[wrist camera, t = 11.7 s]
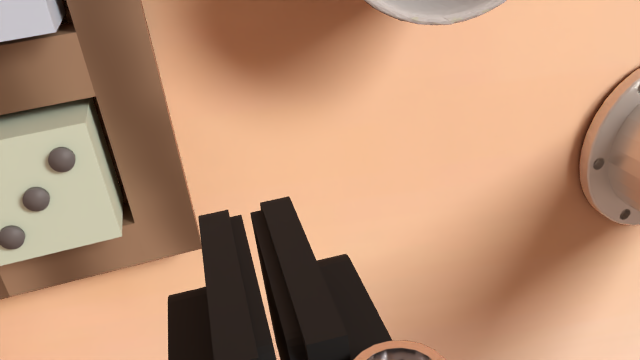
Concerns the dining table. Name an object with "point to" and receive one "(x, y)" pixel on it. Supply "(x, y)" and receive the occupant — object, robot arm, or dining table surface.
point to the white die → (29, 18)
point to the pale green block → (55, 181)
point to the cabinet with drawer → (123, 132)
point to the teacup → (434, 10)
